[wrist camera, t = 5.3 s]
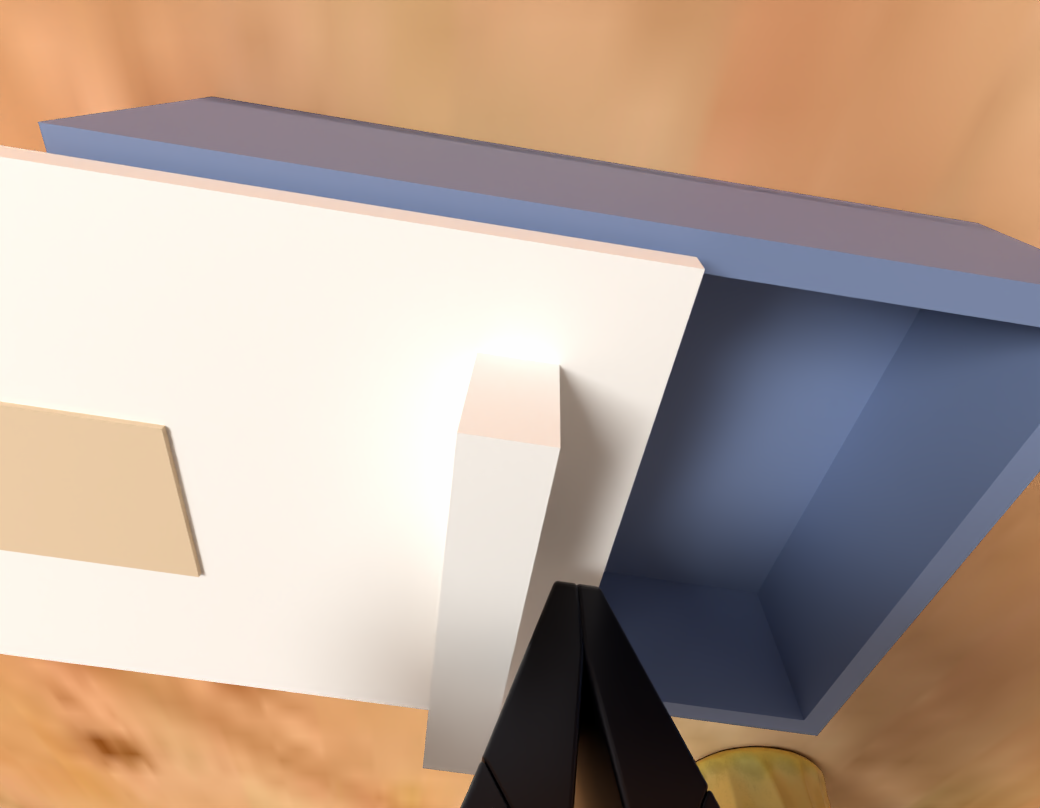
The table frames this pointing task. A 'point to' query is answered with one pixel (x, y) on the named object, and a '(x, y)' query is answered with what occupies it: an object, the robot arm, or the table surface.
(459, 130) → the table surface
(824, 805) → the vase
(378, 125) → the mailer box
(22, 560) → the lid
